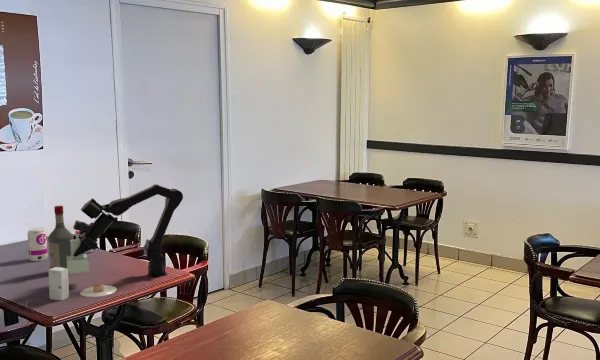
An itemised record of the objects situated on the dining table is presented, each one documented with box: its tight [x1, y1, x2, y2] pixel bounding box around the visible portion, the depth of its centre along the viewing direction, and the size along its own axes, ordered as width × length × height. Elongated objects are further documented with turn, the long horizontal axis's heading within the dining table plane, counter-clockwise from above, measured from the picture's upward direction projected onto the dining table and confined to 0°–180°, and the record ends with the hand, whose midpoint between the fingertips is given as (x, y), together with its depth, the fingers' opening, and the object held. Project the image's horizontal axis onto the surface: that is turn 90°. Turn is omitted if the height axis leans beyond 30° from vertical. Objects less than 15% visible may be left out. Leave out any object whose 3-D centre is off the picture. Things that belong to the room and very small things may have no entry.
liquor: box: [48, 205, 74, 269], centre depth 262 cm, size 9×9×30 cm
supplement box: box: [74, 230, 93, 255], centre depth 297 cm, size 6×6×12 cm
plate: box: [79, 285, 118, 298], centre depth 235 cm, size 14×14×1 cm
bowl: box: [92, 282, 104, 293], centre depth 235 cm, size 4×4×3 cm
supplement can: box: [27, 227, 49, 262], centre depth 285 cm, size 8×8×15 cm
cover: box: [66, 238, 91, 275], centre depth 242 cm, size 8×8×12 cm
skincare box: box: [48, 267, 70, 301], centre depth 227 cm, size 6×4×12 cm
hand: (73, 254), depth 242 cm, fingers closed on cover, 4 cm apart
